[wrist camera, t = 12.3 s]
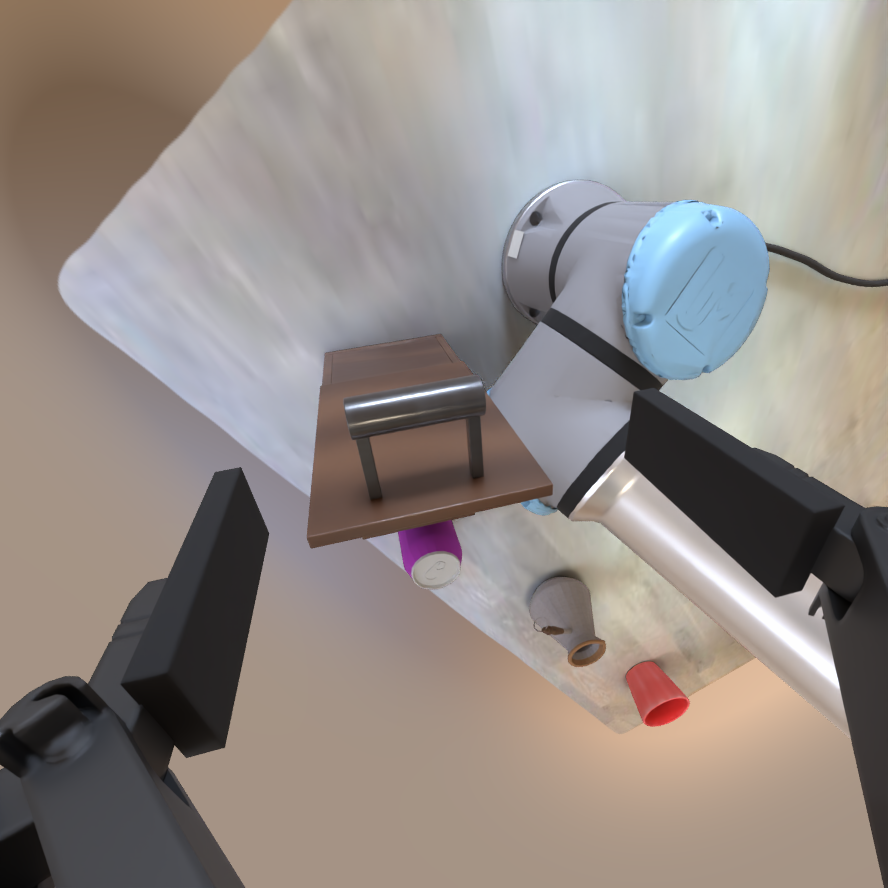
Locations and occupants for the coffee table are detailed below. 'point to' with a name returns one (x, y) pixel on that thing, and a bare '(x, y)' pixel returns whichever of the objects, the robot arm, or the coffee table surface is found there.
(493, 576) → the coffee table surface
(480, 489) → the lid
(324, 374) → the chest
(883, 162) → the coffee table surface
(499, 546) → the coffee table surface
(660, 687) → the flower pot
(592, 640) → the coffee pot
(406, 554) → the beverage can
